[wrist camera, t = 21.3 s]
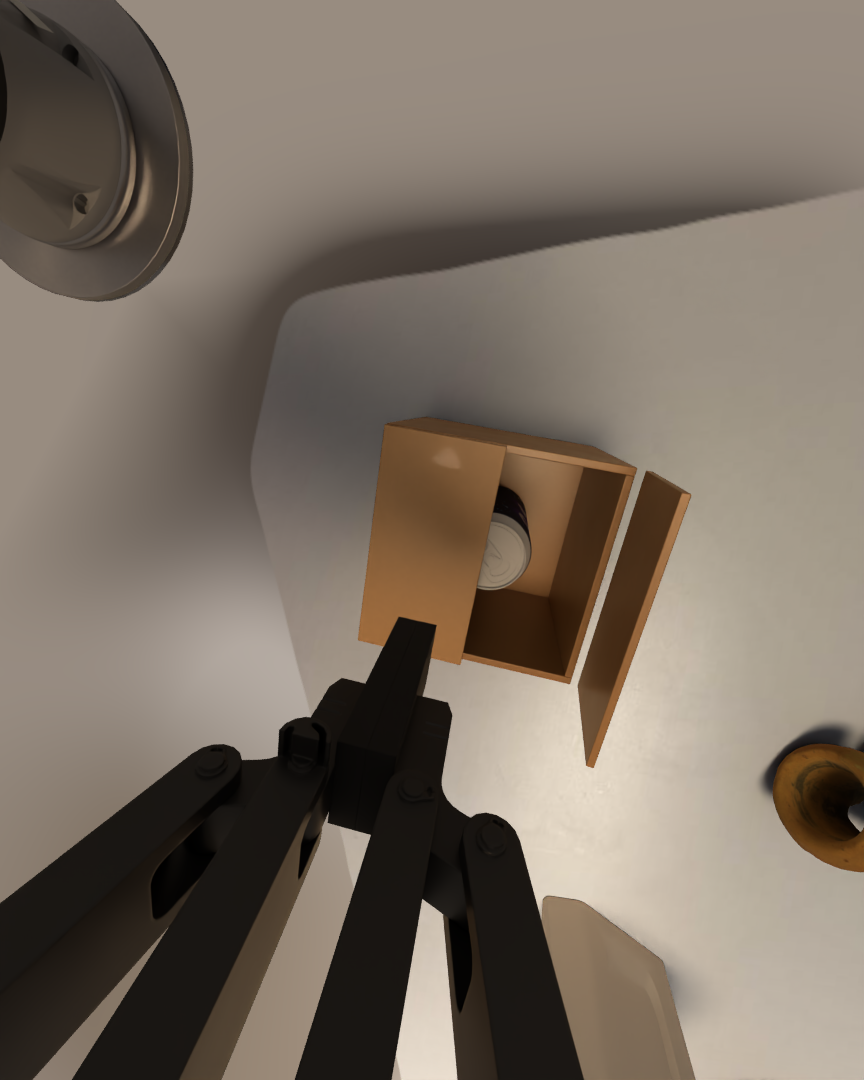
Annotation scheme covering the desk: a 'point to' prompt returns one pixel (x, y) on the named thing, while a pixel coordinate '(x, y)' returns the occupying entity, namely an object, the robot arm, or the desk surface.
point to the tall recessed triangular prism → (613, 998)
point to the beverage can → (506, 543)
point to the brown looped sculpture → (822, 802)
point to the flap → (429, 534)
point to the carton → (572, 567)
